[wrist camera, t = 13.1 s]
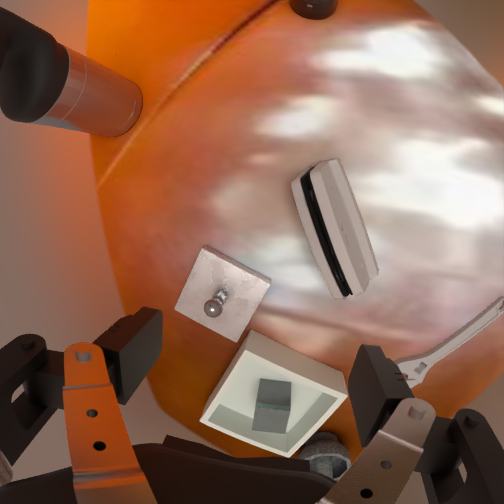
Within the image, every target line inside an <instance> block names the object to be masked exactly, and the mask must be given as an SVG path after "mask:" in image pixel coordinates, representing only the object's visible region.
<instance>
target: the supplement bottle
mask: <svg viewBox="0 0 504 504" xmlns="http://www.w3.org/2000/svg"><path fill="white" fill-rule="evenodd" d="M337 3H338V0H290V5H291V7H292V8H293V10H294V11H295V12H297V13H298V14H300V15H301V16H303V17H306V18H310V19H322V18H326V17H328V16H330V15H331V14H333V12H334V11H335V9H336V7H337Z"/></svg>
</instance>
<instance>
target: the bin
mask: <svg viewBox="0 0 504 504" xmlns="http://www.w3.org/2000/svg"><path fill="white" fill-rule="evenodd" d="M260 378H262V379H270V380H279V381H288V382H291V412H290V416H289V420H288V424H287V428H286V432H285V434H280V433H271V432H262V431H255V430H252V425H253V418H254V411H255V405H256V399H257V394H258V388H259V382H260ZM347 396H348V393H347V389H346V384H345V380H344V376H343V372H341V371H338V370H336V369H334V368H332V367H329V366H327V365H325V364H323V363H320V362H318V361H316V360H314V359H312V358H310V357H307V356H305V355H303V354H301V353H299V352H297V351H295V350H293V349H290V348H288V347H286V346H284V345H282V344H280V343H278V342H276V341H274V340H272V339H270V338H268V337H266V336H264V335H262V334H260V333H258V332H256V331H254V330H252V329H251V330H250V332H249V333H248V335H247V337H246V338H245V340H244V342H243V343H242V345H241V347H240V348H239V350H238V352H237V353H236V355H235V357H234V358H233V360H232V361H231V363H230V365H229V366H228V368H227V370H226V371H225V373H224V374H223V376H222V378H221V379H220V381H219V383H218V384H217V386H216V387H215V389H214V391H213V392H212V394H211V395H210V397H209V399H208V401H207V403H206V406H205V409H204V411H203V414H202V416H201V419H200V422H202V423H204V424H206V425H208V426H210V427H212V428H215V429H217V430H219V431H221V432H223V433H226V434H228V435H230V436H233V437H235V438H238V439H240V440H242V441H245V442H247V443H250V444H252V445H255V446H258V447H260V448H263V449H266V450H268V451H271V452H274V453H277V454H280V455H282V456H285V457H288V458H289V457H290V456H291V455H292V454H293V453H294V452H295V451H297V450H298V449H299V448H300V447H301V446H302V445H303V444H304V443H305V442H306V441H307V440H308V439H309V438H310V437H311V436H312V435H313V434H314V433H315V432H316V431H317V429H318V428H319V427H320V426H321V425H322V424H323V423H324V422H325V421H326V420H327V419H328V418H329V417H330V416H331V414H332V413H333V412H334V411H335V410H336V409H337V408H338V407H339V406H340V404H341V403H342V402H343V401H344V400H345V399H346V398H347Z"/></svg>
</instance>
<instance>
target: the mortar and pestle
mask: <svg viewBox="0 0 504 504" xmlns="http://www.w3.org/2000/svg"><path fill="white" fill-rule="evenodd" d="M296 459H304V460H310V470H313V471H316V472H319V473H322V474H324V475H326V476H328V477H330V478H332V479H334V480H338V479H340V478H341V477H342V476H343V475H344V474H345V473H346V471H347V470H348V469H349V468H350V467H351V462H350V455H349V452H348V449H347V448H346V447H345V446H344V445H343V444H341V443H339V442H338V439H337V436H335V435H334V434H332V433H330V432H319V433H316V434H314V435H312V436H311V437H310V438H309V439H308V440H307V441H306V442H305V447H304V448H303V449H302V451H301V452H300V453H299V454H298V456H297V457H296Z"/></svg>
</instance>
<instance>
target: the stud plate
mask: <svg viewBox="0 0 504 504" xmlns="http://www.w3.org/2000/svg"><path fill="white" fill-rule="evenodd" d="M270 283H271V280H270V279H269V278H267V277H265V276H263V275H261V274H259V273H257V272H255V271H253V270H252V269H250V268H248V267H246V266H244V265H242V264H240V263H238V262H236V261H235V260H233V259H231V258H229V257H227V256H225V255H223V254H221V253H220V252H218V251H216V250H214V249H212V248H210V247H208V246H204V247H203V248H202V249H201V251H200V254H199V256H198V258H197V260H196V262H195V264H194V266H193V269H192V271H191V273H190V275H189V277H188V280H187V282H186V284H185V286H184V288H183V291H182V293H181V295H180V297H179V299H178V302H177V304H176V306H175V308H174V309H175V310H177V311H178V312H180V313H182V314H184V315H185V316H187V317H189V318H191V319H193V320H194V321H196V322H198V323H200V324H202V325H204V326H206V327H207V328H209V329H211V330H213V331H215V332H217V333H219V334H221V335H223V336H224V337H226V338H228V339H230V340H232V341H234V342H236V343H237V341H238V339H239V338H240V336H241V334H242V333H243V331H244V329H245V328H246V326H247V324H248V322H249V321H250V319H251V317H252V315H253V314H254V312H255V310H256V309H257V307H258V305H259V303H260V302H261V300H262V298H263V296H264V295H265V293H266V291H267V289H268V288H269V286H270Z"/></svg>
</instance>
